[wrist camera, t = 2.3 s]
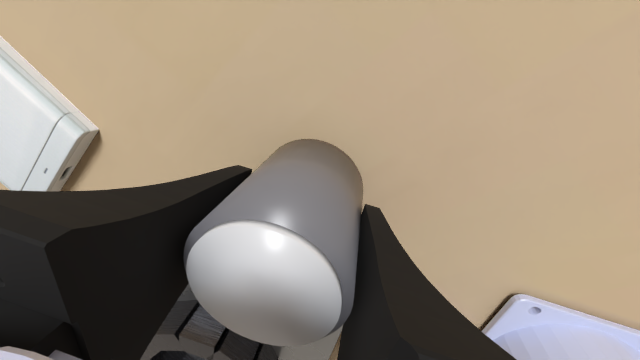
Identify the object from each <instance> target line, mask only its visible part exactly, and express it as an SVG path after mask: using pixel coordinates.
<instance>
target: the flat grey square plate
mask: <svg viewBox="0 0 640 360" xmlns="http://www.w3.org/2000/svg"><path fill="white" fill-rule="evenodd" d="M342 328H343V325H342V326H341V327H340V328H339V329H338V330H336V331H335V332H334V333H332V334H330V335H328V336H326V337H324V338H321V339H319V340H317V341H315V342H312V343H309V344H305V345H300V346H275V345H269V344H264V343H260V342H257V341H254V340H251V339H248V338H246V337H243V336H241V335H239V334H237V333H235V332H233V331H232V330H230V329H228V328H226V327H225V326H224V325H222V324H221V323H219V322H218V321H217V320H216V319H214V318H213V317H212V316H211V315H210V314H209V313H208V312H207V311H206V310H205V309H204V308H203V307H202V305H201V304H200V303H199V301H198V300H197V299H196V297H195V295H194V293H193V292H192V290H191V287H190V285H189V284H188V285H187V287H186V288H185V290H184V291H183V292H182V294H181V295H180V297H179V298H178V300H177V301H176V303H175V305H174V306H173V308H172V309H171V311H170V312H169V314H168V315H167V317H166V318H165V320H164V321H163V323H162V325H161V326H160V328H159V329H158V331H157V333H156V334H155V336H154V337H153V339H152V341H151V342H150V344H149V345H148V347H147V349H146V350H145V352H144V354H143V356H142V357H141V359H140V360H329V357H330V355H331V353H332V351H333V349H334V346H335V344H336V342H337V340H338V338H339V335H340V333H341V331H342Z"/></svg>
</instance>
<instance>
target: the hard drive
mask: <svg viewBox="0 0 640 360" xmlns="http://www.w3.org/2000/svg"><path fill="white" fill-rule="evenodd" d="M98 131H99V128H98V127H97V126H95V125H94V124H93V123H92V122H91V121H90V120H89V119H88V118H87V117H86V116H85V115H84V114H83V113H82V112H81V111H80V110H79V109H77V108H76V107H75V106H74V105H73V104H72V103H71V102H70V101H69V100H68V99H67V98H66V97H65V96H64V95H63V94H62V93H61V92H60V91H59V90H57V89H56V88H55V87H54V86H53V85H52V84H51V83H50V82H49V81H48V80H47V79H46V78H45V77H44V76H43V75H41V74H40V73H39V72H38V71H37V70H36V69H35V68H34V67H33V66H32V65H31V64H30V63H29V62H28V61H27V60H26V59H25V58H23V57H22V56H21V55H20V54H19V53H18V52H17V51H16V50H15V49H14V48H13V47H12V46H11V45H10V44H9V43H8V42H6V41H5V40H4V39H3V38H2V37H1V36H0V182H1V183H2V184H3V185H4V186H6V187H7V188H8V189H9V190H15V191H60V190H61V189H62V187H63V186H64V184H65V183H66V181H67V179H68V178H69V176H70V175H71V173H72V172H73V170H74V168H75V167H76V165H77V164H78V162H79V160H80V159H81V157H82V156H83V154H84V153H85V151H86V149H87V148H88V146H89V145H90V143H91V142H92V140H93V138H94V137H95V135H96V134H97V132H98Z"/></svg>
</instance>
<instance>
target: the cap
mask: <svg viewBox="0 0 640 360" xmlns="http://www.w3.org/2000/svg"><path fill="white" fill-rule="evenodd" d="M362 199H363V183H362V178H361V175H360V173H359V171H358V168H357V167H356V165H355V164H354V162H353V161H352V160H351V159H350V157H349V156H348V155H347V154H345V153H344V152H343V151H342V150H340V149H339V148H337V147H336V146H334V145H332V144H329V143H327V142H324V141H320V140H314V139H301V140H295V141H292V142H289V143H287V144H285V145H283V146H281V147H280V148H279V149H277V150H276V151H275V152H274V153H273V154H272V155H271V156H270V157H269V158H268V159H267V160H266V161H264V162H263V163H262V164H261V165H260V166H259V167H258V168H257V169H256V170H255V171H254V172H253V173H252V174H251V175H250V176H249V177H248V178H246V179H245V180H244V181H243V182H242V183H241V184H240V185H239V186H238V187H237V188H236V189H235V190H234V191H233V192H232V193H231V194H229V195H228V196H227V197H226V198H225V199H224V200H223V201H222V202H221V203H220V204H219V205H218V206H217V207H216V208H215V209H214V210H212V211H211V212H210V213H209V214H208V215H207V216H206V217H205V218H204V219H203V220H202V221H201V222H200V223H199V224H198V225H197V226H196V227H194V229H193V230H192V231H191V233H190V234H189V236H188V238H187V240H186V243H185V247H184V256H183V258H184V267H185V271H186V274H187V278H188V282H189V285H190V287H191V290H192V292H193V293H194V295H195V297H196V299H197V300H198V301H199V303H200V304H201V305H202V307H203V308H204V309H205V310H206V311H207V312H208V313H209V314H210V315H211V316H212V317H213V318H214V319H216V320H217V321H218V322H219V323H221V324H222V325H224V326H225V327H226V328H228V329H230V330H232V331H233V332H235V333H237V334H239V335H241V336H243V337H246V338H248V339H251V340H254V341H257V342H260V343H264V344H269V345H275V346H300V345H305V344H309V343H312V342H315V341H317V340H319V339H321V338H324V337H326V336H328V335H330V334H332V333H334V332H335V331H336V330H338V329H339V328H340V327H341V326H342V325H343V324H344V323H345V321H346V320H347V318H348V317H349V315H350V313H351V310H352V307H353V301H354V292H355V280H356V269H357V257H358V246H359V234H360V222H361V211H362Z"/></svg>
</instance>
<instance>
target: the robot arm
mask: <svg viewBox="0 0 640 360" xmlns="http://www.w3.org/2000/svg"><path fill="white" fill-rule="evenodd" d="M251 172H252V169H249V168H246V167H243V166H240V165H237V166H232V167H228V168H224V169H220V170H217V171H213V172H209V173H206V174H202V175H198V176H194V177H190V178H185V179H181V180H177V181H172V182H167V183H162V184H156V185H149V186H142V187H133V188H122V189H111V190H96V191H15V190H0V360H140V359H141V357H142V356H143V354H144V352H145V350H146V349H147V347H148V345H149V344H150V342H151V341H152V339H153V337H154V336H155V334H156V333H157V331H158V329H159V328H160V326H161V325H162V323H163V321H164V320H165V318H166V317H167V315H168V314H169V312H170V311H171V309H172V308H173V306H174V305H175V303H176V301H177V300H178V298H179V297H180V295H181V294H182V292H183V291H184V290H185V288H186V287H187V285H188V284H189V282H188V278H187V274H186V271H185V267H184V258H183V256H184V247H185V243H186V240H187V238H188V236H189V234H190V233H191V231H192V230H193V229H194V227H196V226H197V225H198V224H199V223H200V222H201V221H202V220H203V219H204V218H205V217H206V216H207V215H208V214H209V213H210V212H211V211H212V210H214V209H215V208H216V207H217V206H218V205H219V204H220V203H221V202H222V201H223V200H224V199H225V198H226V197H227V196H228V195H229V194H231V193H232V192H233V191H234V190H235V189H236V188H237V187H238V186H239V185H240V184H241V183H242V182H243V181H244V180H245V179H246V178H248V177H249V176H250V175H251ZM337 360H640V331H639V330H636V329H633V328H630V327H627V326H624V325H620V324H617V323H614V322H611V321H608V320H605V319H601V318H598V317H595V316H592V315H589V314H586V313H582V312H579V311H576V310H573V309H570V308H567V307H564V306H560V305H557V304H554V303H551V302H548V301H545V300H541V299H538V298H535V297H532V296H529V295H525V294H517V295H514V296H513V297H511V298H510V299H509V300H508V302H507V303H506V304H505V305H504V306H503V307H502V308H501V310H500V311H499V312H498V313H497V314H496V315H495V316H494V318H493V319H492V320H491V321H490V322H489V323H488V324H487V325H486V327H485V328H484V329H483V330H482V331H480V330H479V329H478V328H477V327H476V326H475V325H473V324H472V323H471V322H470V321H469V320H468V319H467V318H465V317H464V316H463V315H462V314H461V313H460V312H459V311H458V310H457V309H456V308H455V307H454V306H452V305H451V304H450V303H449V302H448V301H447V300H446V299H445V298H444V297H443V296H442V295H441V293H440V292H439V291H438V290H437V289H436V288H435V287H434V286H433V285H432V284H431V283H430V282H429V281H428V280H427V278H426V277H425V276H424V275H423V274H422V272H421V271H420V270H419V269H418V268H417V266H416V265H415V264H414V263H413V261H412V260H411V259H410V257H409V256H408V254H407V253H406V252H405V250H404V249H403V247H402V246H401V244H400V243H399V241H398V240H397V238H396V236H395V235H394V233H393V231H392V230H391V228H390V226H389V224H388V223H387V221H386V219H385V217H384V215H383V213H382V212H381V210H380V208H377V207H374V206H370V205H367V204H365V206H364V209H363V212H362V214H361V222H360V234H359V246H358V257H357V269H356V280H355V292H354V301H353V307H352V310H351V313H350V315H349V317H348V318H347V320H346V321H345V323H344V324H343V328H342V334H341V341H340V347H339V353H338V359H337Z"/></svg>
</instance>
